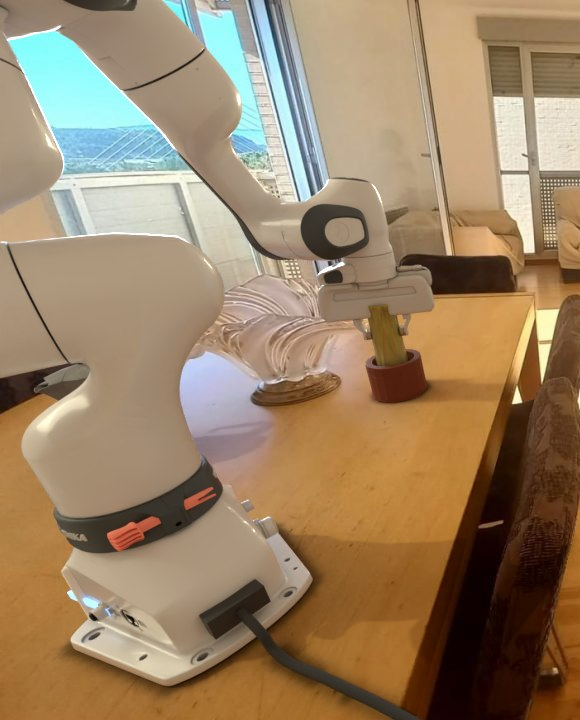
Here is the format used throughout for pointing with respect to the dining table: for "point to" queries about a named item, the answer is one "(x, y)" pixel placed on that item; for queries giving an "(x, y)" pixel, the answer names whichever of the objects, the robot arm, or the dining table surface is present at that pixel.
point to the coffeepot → (64, 381)
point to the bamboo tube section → (386, 337)
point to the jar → (397, 378)
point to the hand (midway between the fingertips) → (387, 336)
